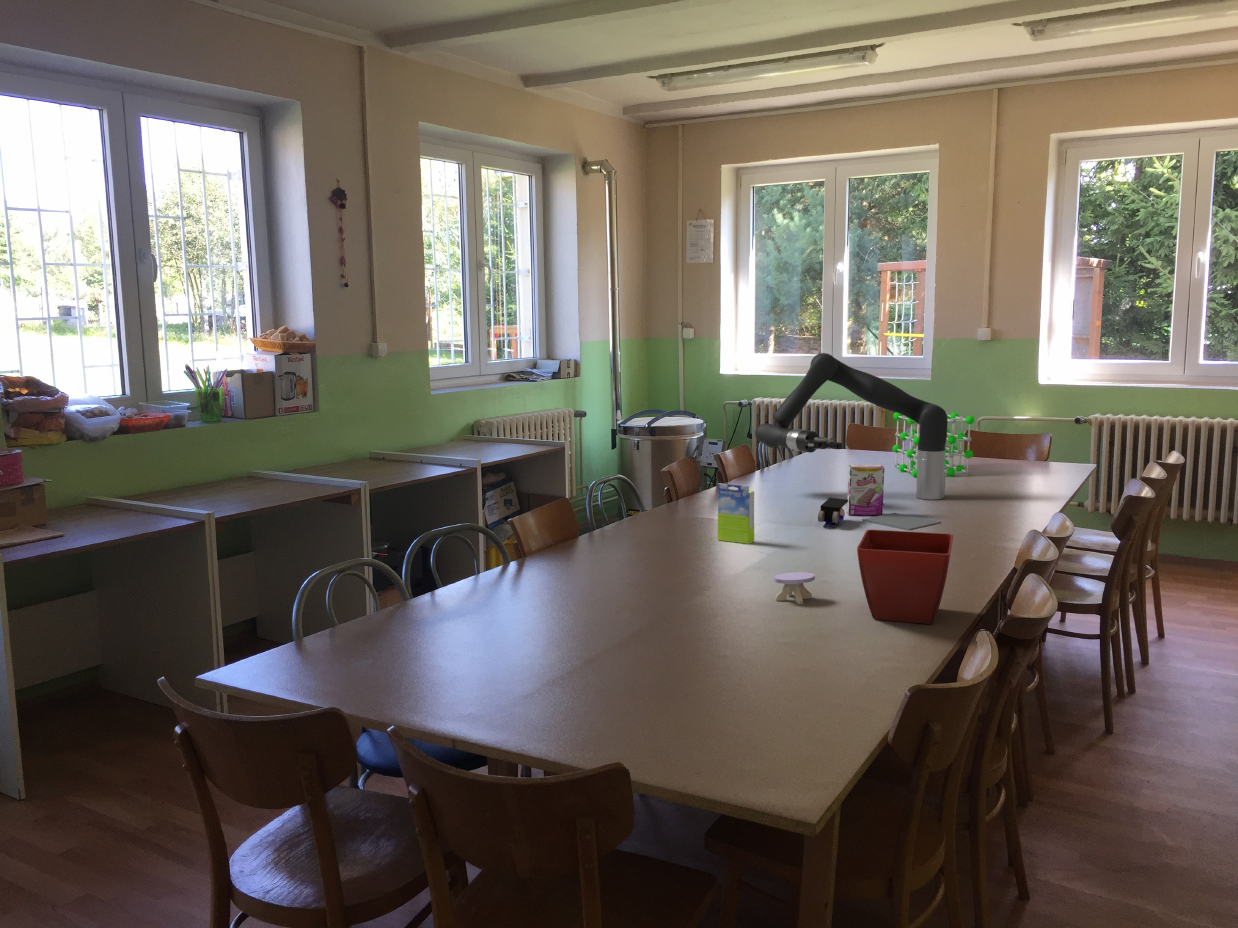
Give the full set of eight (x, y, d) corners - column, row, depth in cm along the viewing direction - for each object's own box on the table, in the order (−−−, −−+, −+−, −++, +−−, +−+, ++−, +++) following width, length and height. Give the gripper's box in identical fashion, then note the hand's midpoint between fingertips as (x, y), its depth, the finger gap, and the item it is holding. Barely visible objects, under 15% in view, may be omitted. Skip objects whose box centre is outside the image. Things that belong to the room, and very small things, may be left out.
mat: (894, 513, 321) (894, 512, 321) (940, 522, 307) (940, 521, 307) (862, 520, 312) (862, 519, 312) (908, 530, 298) (908, 528, 298)
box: (755, 541, 286) (755, 483, 284) (749, 544, 283) (749, 486, 280) (722, 537, 292) (722, 481, 289) (716, 540, 288) (716, 483, 286)
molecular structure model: (890, 468, 411) (892, 411, 408) (947, 466, 414) (949, 410, 410) (913, 478, 388) (915, 417, 384) (973, 476, 390) (976, 416, 386)
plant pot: (854, 622, 212) (856, 547, 209) (865, 598, 229) (866, 528, 227) (947, 631, 205) (950, 553, 202) (950, 605, 223) (953, 533, 220)
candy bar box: (848, 516, 319) (849, 466, 317) (846, 512, 324) (847, 464, 322) (883, 516, 318) (884, 466, 316) (880, 513, 323) (882, 464, 320)
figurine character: (838, 534, 300) (849, 519, 313) (838, 511, 298) (849, 496, 311) (816, 532, 303) (828, 517, 316) (816, 509, 301) (827, 495, 314)
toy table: (810, 593, 234) (811, 570, 233) (819, 604, 225) (819, 580, 224) (770, 594, 234) (770, 571, 233) (777, 605, 225) (777, 581, 224)
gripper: (789, 431, 336) (827, 436, 322) (815, 428, 343) (854, 433, 330) (788, 452, 337) (827, 459, 323) (815, 449, 345) (853, 455, 331)
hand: (840, 446), depth 326 cm, fingers closed
